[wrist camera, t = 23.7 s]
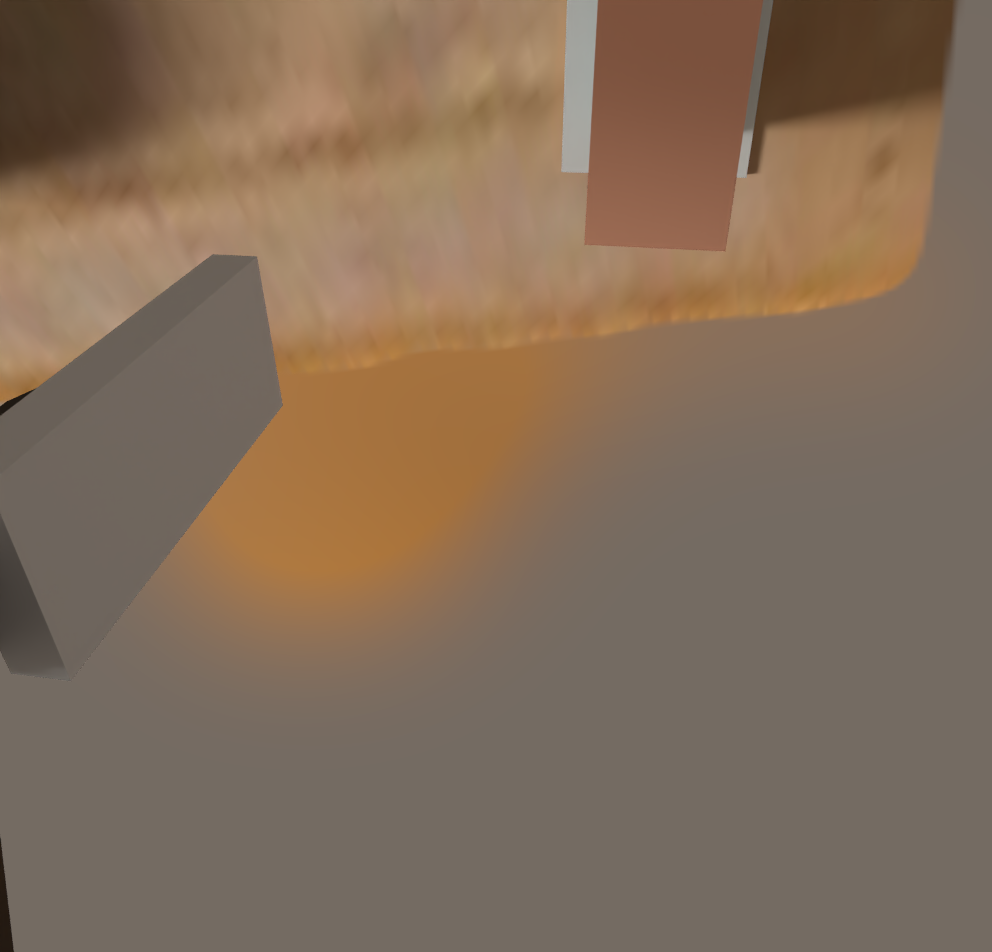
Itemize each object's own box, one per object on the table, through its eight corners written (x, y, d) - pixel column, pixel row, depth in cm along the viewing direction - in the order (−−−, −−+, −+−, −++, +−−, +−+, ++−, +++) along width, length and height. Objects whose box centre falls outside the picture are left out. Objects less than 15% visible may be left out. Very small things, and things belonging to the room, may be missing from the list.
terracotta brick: (595, 198, 35) (584, 244, 30) (608, -22, 31) (598, -10, 26) (716, 203, 35) (725, 251, 30) (747, -21, 30) (764, -9, 25)
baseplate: (562, 169, 47) (561, 172, 47) (571, -89, 40) (570, -89, 40) (745, 174, 46) (746, 177, 45) (785, -91, 39) (787, -91, 38)
